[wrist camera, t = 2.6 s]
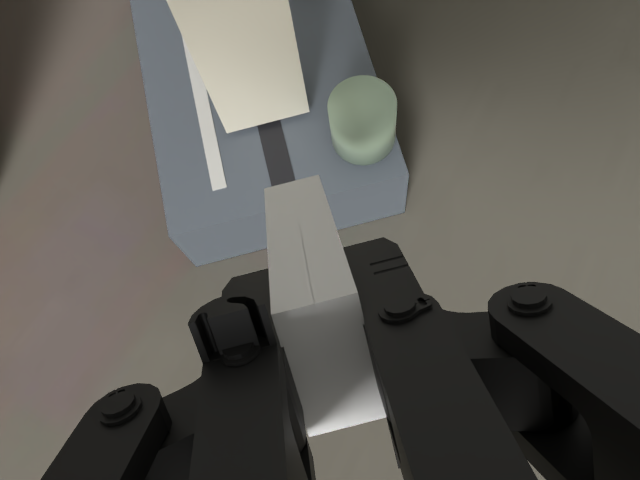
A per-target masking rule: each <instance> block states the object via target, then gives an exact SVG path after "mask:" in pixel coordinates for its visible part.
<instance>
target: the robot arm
mask: <svg viewBox="0 0 640 480" xmlns="http://www.w3.org/2000/svg"><path fill="white" fill-rule="evenodd" d="M264 196H265V215H266V233H267V251H268V269H264V270H260V271H256V272H253V273H249V274H245V275H241V276H237V277H233V278H232V279H231V280H230V281H229V283H228V284H227V285H226V287H225V288H224V289H223V291H222V297H220V298H217V299H214V300H212V301H211V302H209V303H207V304H205V305H204V306H202V307H200V308H199V309H198V310H197V311H196V312H195V313H194V314H193V315H192V316H191V318H190V320H189V322H188V326H189V328H190V331H191V333H192V336H193V339H194V341H195V344H196V346H197V349H198V352H199V354H200V357H201V360H202V362H203V367H202V375H201V377H200V378H198V379H197V380H196V381H194V382H193V383H191V384H189V385H188V386H186V387H184V388H182V389H180V390H178V391H176V392H174V393H171V394H169V395H167V396H165V397H163V398H162V396H161V394H160V391H159V389H158V388H157V387H155V386H153V385H151V384H140V383H137V384H133V385H128V386H124V387H121V388H118V389H117V390H113V391H112V392H110V393H108V394H107V395H105V396H104V397H103V398H101V399H100V400H98V401H97V402H95V403H94V404H93V406H92V407H91V408H90V409H89V410H88V411H87V412H86V413H85V415H84V416H83V418H82V419H81V421H80V422H79V424H78V425H77V427H76V428H75V429H74V431H73V432H72V434H71V435H70V437H69V438H68V440H67V441H66V443H65V444H64V446H63V447H62V449H61V450H60V452H59V453H58V455H57V456H56V458H55V459H54V461H53V462H52V464H51V465H50V466H49V468H48V469H47V471H46V472H45V474H44V475H43V477H42V478H41V480H316V478H315V470H314V463H313V456H312V453H311V450H310V447H309V444H308V440H307V437H306V430H305V426H306V429H307V432H308V435H309V437H311V436H315V435H319V434H323V433H327V432H331V431H335V430H339V429H343V428H346V427H350V426H354V425H358V424H362V423H366V422H370V421H374V420H378V419H382V418H386V417H387V422H388V426H389V430H390V434H391V438H392V443H393V447H394V451H395V455H396V460H397V464H398V468H401V472H402V475H403V479H404V480H538V479H537V477H536V476H535V474H534V472H533V470H532V468H531V467H530V465H529V463H528V461H529V462H530V463H531V464H532V465H533V466H534V468H535V469H536V470H537V471H538V472H539V473H540V474H541V475H542V476H543V477H544V478H545V479H546V480H640V334H639V333H637V332H636V331H634V330H632V329H631V328H629V327H627V326H626V325H624V324H622V323H620V322H619V321H617V320H615V319H614V318H612V317H610V316H608V315H607V314H605V313H603V312H602V311H600V310H598V309H597V308H595V307H593V306H591V305H590V304H588V303H586V302H585V301H583V300H581V299H580V298H578V297H576V296H574V295H573V294H571V293H569V292H568V291H566V290H564V289H562V288H559V287H557V286H554V285H552V284H546V283H538V282H527V283H525V282H524V283H518V284H515V285H511V286H508V287H505V288H503V289H501V290H499V291H498V292H496V293H494V294H493V296H492V297H491V298H490V300H489V301H488V312H475V313H457V312H451V311H446V310H443V309H442V308H441V307H440V305H439V303H438V302H437V301H436V300H435V299H434V298H433V297H432V296H429V295H426V294H424V293H423V291H422V289H421V287H420V285H419V283H418V281H417V280H416V278H415V276H414V274H413V272H412V270H411V268H410V267H409V266H408V263H407V261H406V259H405V257H404V256H403V254H402V252H401V250H400V248H399V246H398V244H396V243H394V242H392V241H390V240H388V239H386V238H384V237H383V238H379V239H375V240H371V241H367V242H363V243H359V244H355V245H352V246H348V247H344V248H343V246H342V243H341V240H340V237H339V234H338V231H337V228H336V225H335V222H334V219H333V216H332V213H331V210H330V207H329V204H328V201H327V198H326V195H325V192H324V189H323V186H322V183H321V180H320V177H319V175H315V176H311V177H307V178H303V179H299V180H296V181H292V182H288V183H284V184H280V185H276V186H272V187H268V188H264ZM526 459H527V460H528V461H527V460H526Z"/></svg>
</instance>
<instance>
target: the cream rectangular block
mask: <svg viewBox="0 0 640 480" xmlns="http://www.w3.org/2000/svg"><path fill="white" fill-rule="evenodd" d="M166 1H167V3H168V6H169V8H170V10H171V12H172V14H173V17H174V19H175V21H176V23H177V25H178V28H179V30H180V32H181V34H182V36H183V38H184V41H185V43H186V45H187V47H188V49H189V52H190V54H191V56H192V58H193V60H194V63H195V65H196V67H197V69H198V71H199V74H200V76H201V78H202V80H203V82H204V85H205V87H206V89H207V91H208V93H209V96H210V98H211V100H212V102H213V104H214V106H215V109H216V111H217V113H218V115H219V117H220V120H221V122H222V124H223V126H224V128H225V131H226V133H231V132H234V131H238V130H242V129H246V128H250V127H254V126H257V125H261V124H265V123H269V122H273V121H277V120H281V119H284V118H288V117H292V116H296V115H300V114H304V113H307V112H310V111H309V106H308V100H307V95H306V90H305V85H304V79H303V74H302V69H301V64H300V58H299V53H298V48H297V43H296V37H295V32H294V27H293V21H292V16H291V11H290V6H289V0H166Z"/></svg>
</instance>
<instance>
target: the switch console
mask: <svg viewBox="0 0 640 480" xmlns="http://www.w3.org/2000/svg"><path fill="white" fill-rule="evenodd" d="M130 4H131V10H132V16H133V22H134V28H135V34H136V40H137V46H138V53H139V59H140V65H141V71H142V77H143V83H144V89H145V95H146V101H147V107H148V113H149V119H150V126H151V132H152V138H153V144H154V150H155V156H156V162H157V168H158V174H159V180H160V186H161V192H162V199H163V205H164V211H165V217H166V223H167V229H168V235H169V238H170V239H171V240H172V241H173V242H174V243H175V244H176V245H177V246H178V247H179V248H180V249H181V251H182V252H183V253H184V254H185V255H186V256H187V257H188V258H189V259H190V260H191V261H192V262H193V264H194V265H195V266H196V267H197V266H201V265H205V264H208V263H212V262H216V261H220V260H224V259H228V258H232V257H235V256H239V255H243V254H247V253H251V252H255V251H258V250H262V249H266V248H267V233H266V215H265V196H264V188H268V187H272V186H276V185H280V184H284V183H288V182H292V181H296V180H299V179H303V178H307V177H311V176H315V175H319V177H320V180H321V183H322V186H323V189H324V192H325V195H326V198H327V201H328V204H329V207H330V210H331V213H332V216H333V219H334V222H335V225H336V228H337V230H339V229H343V228H347V227H351V226H354V225H358V224H362V223H366V222H370V221H374V220H377V219H381V218H385V217H389V216H393V215H397V214H401V213H404V212H405V205H406V196H407V188H408V179H409V173H408V170H407V167H406V164H405V161H404V158H403V155H402V152H401V149H400V146H399V143H398V140H397V137H396V134H395V143H394V146H393V148H392V150H391V151H390V153H389V154H388V155H387V156H386V157H385V158H384V159H382V160H381V161H379V162H377V163H374V164H370V165H355V164H351V163H349V162H347V161H345V160H343V159H342V158H341V157H340V156H339V155H338V154H337V153H336V151H335V149H334V147H333V144H332V138H331V131H330V124H329V116H328V108H327V104H328V99H329V96H330V94H331V92H332V90H333V89H334V88H335V87H336V86H337V85H338V84H339V83H340V82H342V81H343V80H345V79H347V78H350V77H353V76H358V75H369V76H374V77H376V73H375V70H374V67H373V64H372V61H371V58H370V55H369V52H368V49H367V46H366V43H365V40H364V37H363V34H362V31H361V28H360V25H359V22H358V19H357V16H356V13H355V10H354V7H353V4H352V1H351V0H289V6H290V11H291V16H292V21H293V27H294V32H295V37H296V43H297V48H298V53H299V58H300V64H301V69H302V74H303V79H304V85H305V90H306V95H307V100H308V106H309V111H310V112H307V113H304V114H300V115H296V116H292V117H288V118H284V119H281V120H277V121H273V122H269V123H265V124H261V125H257V126H254V127H250V128H246V129H242V130H238V131H234V132H231V133H226V131H225V128H224V126H223V124H222V122H221V120H220V117H219V115H218V113H217V111H216V109H215V106H214V104H213V102H212V100H211V98H210V96H209V93H208V91H207V89H206V87H205V85H204V82H203V80H202V78H201V76H200V74H199V71H198V69H197V67H196V65H195V63H194V60H193V58H192V56H191V54H190V52H189V49H188V47H187V45H186V43H185V41H184V38H183V36H182V34H181V32H180V30H179V28H178V25H177V23H176V21H175V19H174V17H173V14H172V12H171V10H170V8H169V6H168V3H167V1H166V0H130Z"/></svg>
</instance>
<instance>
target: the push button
mask: <svg viewBox="0 0 640 480" xmlns="http://www.w3.org/2000/svg"><path fill="white" fill-rule="evenodd" d="M327 108H328V116H329V124H330V131H331V138H332V144H333V147H334V149H335V151H336V153H337V154H338V155H339V156H340V157H341V158H342V159H343V160H345V161H347V162H349V163H351V164H355V165H370V164H374V163H377V162H379V161H381V160H382V159H384V158H385V157H386V156H387V155H388V154H389V153H390V151H391V150H392V148H393V146H394V143H395V133H396V116H397V98H396V95H395V93H394V91H393V89H392V88H391V87H390V86H389V85H388V84H387V83H386V82H385V81H383V80H381V79H379V78H377V77H374V76H369V75H358V76H353V77H350V78H347V79H345V80H343V81H342V82H340V83H339V84H338V85H337V86H336V87H335V88H334V89H333V90H332V92H331V94H330V96H329V99H328V104H327Z"/></svg>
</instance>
